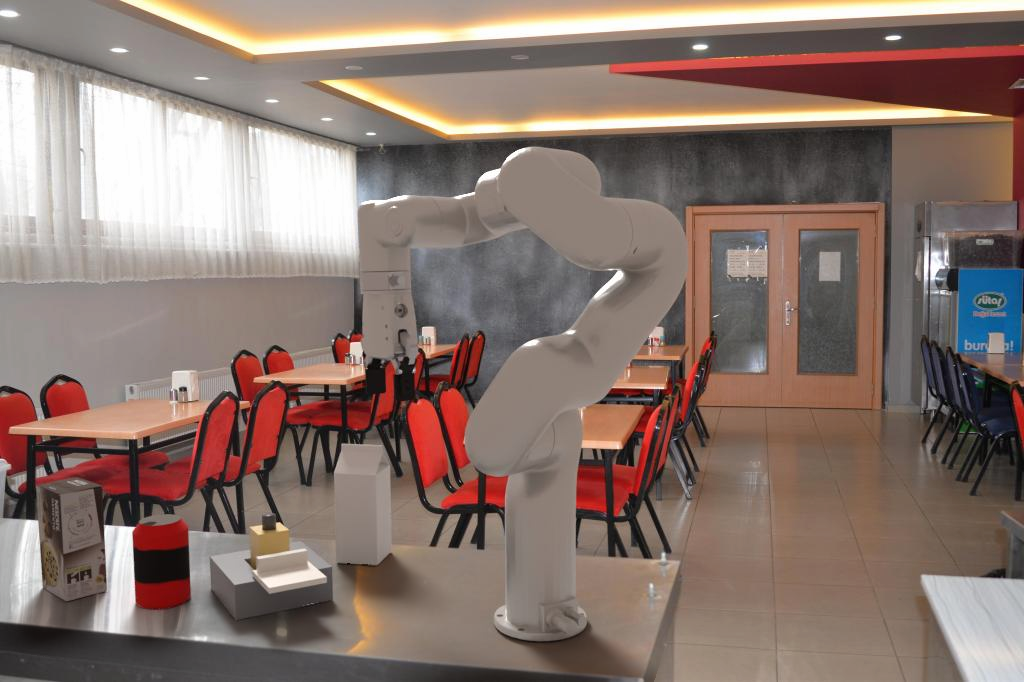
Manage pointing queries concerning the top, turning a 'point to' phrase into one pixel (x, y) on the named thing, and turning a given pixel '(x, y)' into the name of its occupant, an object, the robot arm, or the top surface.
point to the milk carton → (362, 505)
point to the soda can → (161, 562)
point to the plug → (268, 538)
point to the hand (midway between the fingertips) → (390, 397)
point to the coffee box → (72, 538)
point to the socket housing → (250, 597)
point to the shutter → (286, 571)
